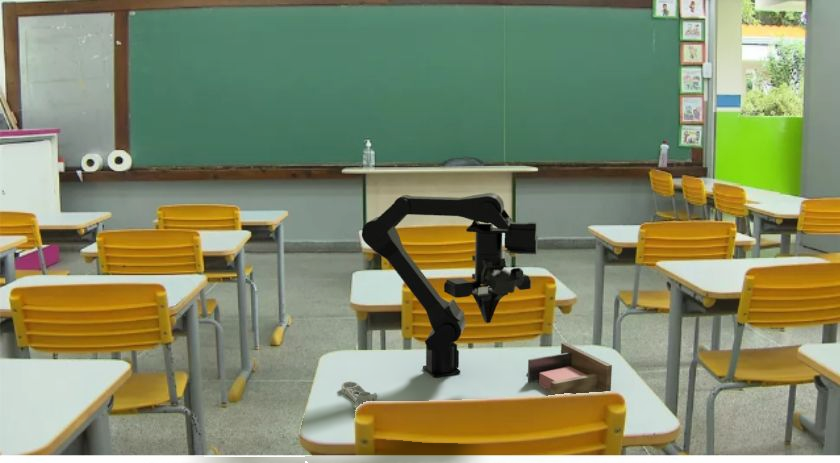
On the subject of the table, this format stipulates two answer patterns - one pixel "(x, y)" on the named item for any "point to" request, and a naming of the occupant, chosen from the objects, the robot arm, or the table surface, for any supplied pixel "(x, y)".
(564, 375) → the block
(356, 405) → the bracket
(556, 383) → the shelf
